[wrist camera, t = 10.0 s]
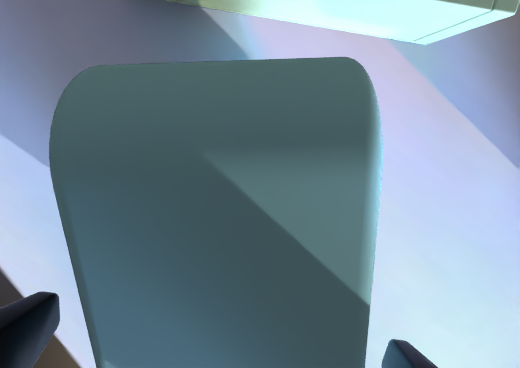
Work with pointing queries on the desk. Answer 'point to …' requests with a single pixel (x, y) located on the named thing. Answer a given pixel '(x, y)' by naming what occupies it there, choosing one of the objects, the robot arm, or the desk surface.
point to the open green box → (376, 15)
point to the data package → (221, 210)
